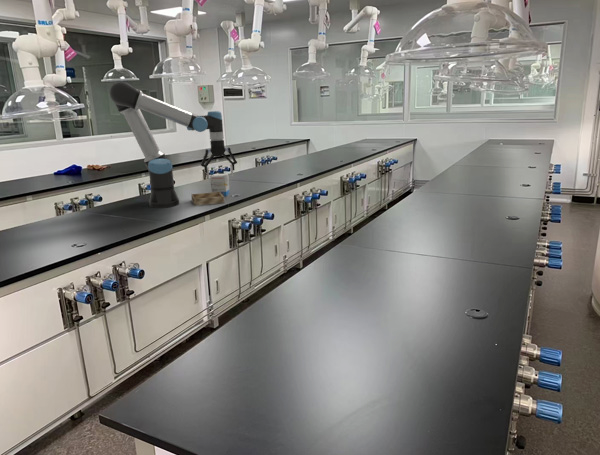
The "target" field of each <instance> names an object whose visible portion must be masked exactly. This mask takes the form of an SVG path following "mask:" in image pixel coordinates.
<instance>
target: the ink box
mask: <svg viewBox="0 0 600 455" xmlns="http://www.w3.org/2000/svg"><path fill="white" fill-rule="evenodd" d="M229 178H230V177H229V174H228V173H214V174H212V175H209V179H210V188H211V193H213V192H220V193H221V194H222V195H223V196H224V197H227V196H229V194H230V193H231V192H230V182H229V181H230V179H229Z"/></svg>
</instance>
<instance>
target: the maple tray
mask: <svg viewBox="0 0 600 455" xmlns="http://www.w3.org/2000/svg"><path fill="white" fill-rule="evenodd" d="M191 202H192V203H193V205H194V206H203V205H212V204H213V205H214V204H215V205H216V204H224V203H225V196H223V195H222V194H221V193H220V192H213V193H212V192H202V193H191Z"/></svg>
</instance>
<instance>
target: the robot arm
mask: <svg viewBox="0 0 600 455" xmlns="http://www.w3.org/2000/svg"><path fill="white" fill-rule="evenodd" d="M109 97H110V99H111V101H112V102H114V105H115V107H116V109H117V111H118V113H120V114H122V115H123V116H124V118H125V120H126V122H127V124H128V126H129V128H130V130H131V132H132V134H133V136H134V137H135V140H136V142H137V144H138V146H139V148H140V150H141V151H142V154H143V156H144V160H143V162H144V165H145V167H146V168H147V170H148V174H149V182H150V197H149V200H148V203H149V207H150V208H157V209H159V208H160V209H161V208H170V207H174V206H175V207H176V206H178V205H179V204H180V200H179V197H178V194H177V192H176V189H175V184H174V174H173V173H174V171H173V163H172V161H171V160H170V159H168V158H167V156H166V154H165V152H162V151H161V150H160V148H159V146H158V144H157V142H156V140H155V138H154V135H153V134H152V132H151V129H150V127H149V126H148V123H147V121H146V119H145V117H144V115H143V113H142V111H145V112H146V113H150V114H152V115H155V116H156V117H157V116H158V117H160V118H163V119H166V120H168V121H170V122H174V123H176V124H178V125H181V126H184V127H186V130H188V131H195V132H198V133H202V132H205V131H206V130H208V132H209V140H210V149H208V148H206V149H205V151H204V152H205V153H204V155H203V158H202V161H201V163H200V166H201V167H204V173H205V174H206V176H207V177H206V178H207V179H208V180H209V179H210V173H209V165H210V163H211V162H212V160H213V159H214V158H216V157H224V158H225V159H226V160H227V161H228V163H230V167H229V168H230V176H231V177H232V178H233V177H234V171H235V165H236V164H238V161H237V160H236V158H235V156H234V155H233V153H232V150H231V148H230V147H226V148H225V140H224V136H225V135H224V127H223V126H224V125H223V116H222V112H221V111H218V110H214V111H207V114H206V115H198V114H195V113H193V112H190V111H187V110H186V109H183V108H180V107H177V106H175V105H173V104H171V103H167V102H164V101H163V100H160V99H158V98H155V97H153V96H150V95H147V94H145V93H144V92H143V91H142V90H140V89H139V88H136V87H135V86H132V85H131V84H129V83H128V82H125V81H116V82H114V83H113V84H112V85H111V86H110V88H109ZM141 110H142V111H141ZM225 152H227V153H228V154H229V156H230V157H231V158H229V157H228V156H227V154H226V153H225ZM210 153H211V155H210V157H209V158H208V155H209V154H210ZM207 158H208V159H207Z"/></svg>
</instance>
